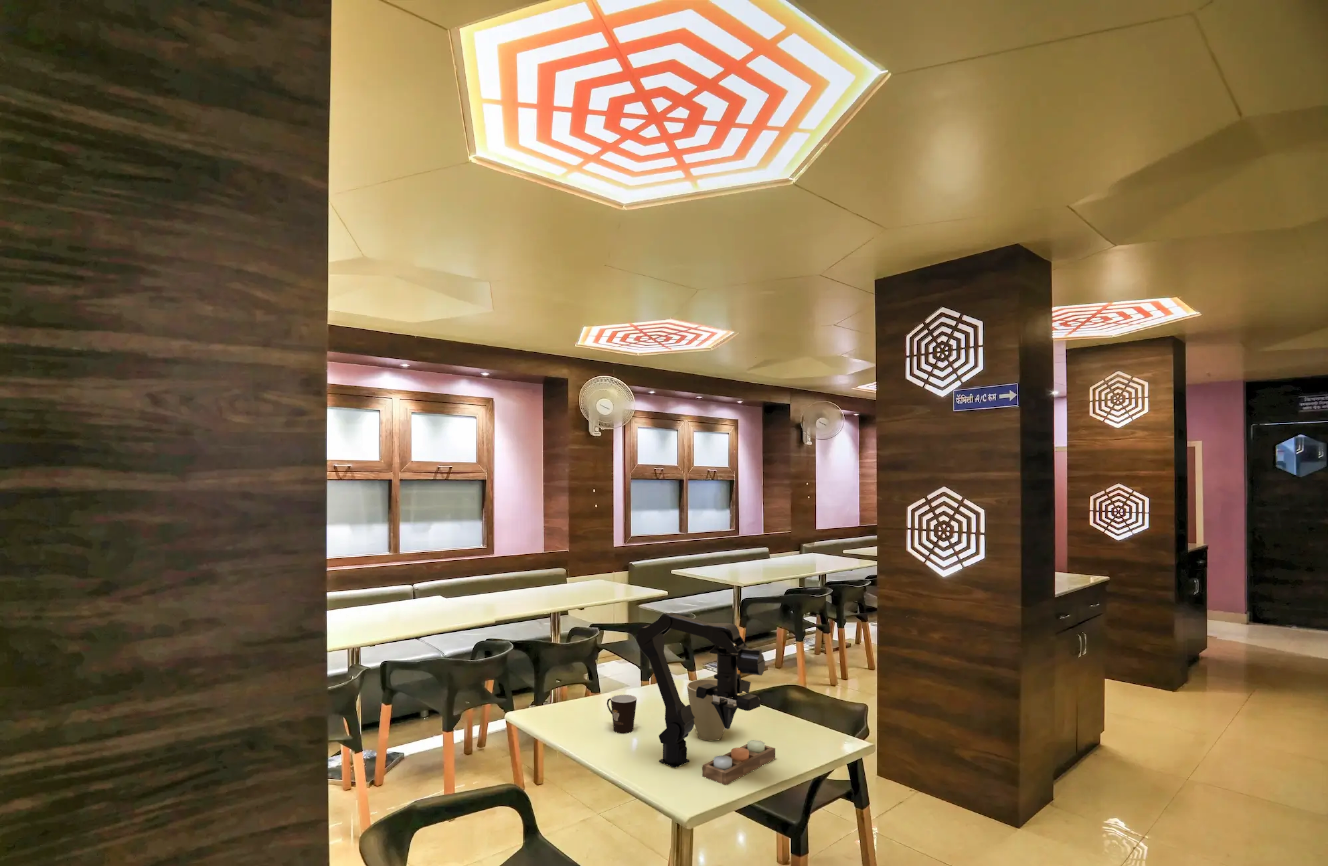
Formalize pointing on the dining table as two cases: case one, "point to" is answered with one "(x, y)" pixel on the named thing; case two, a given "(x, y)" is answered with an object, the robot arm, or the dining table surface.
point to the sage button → (756, 746)
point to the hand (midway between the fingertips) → (727, 728)
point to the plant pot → (705, 712)
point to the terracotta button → (740, 754)
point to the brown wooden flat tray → (738, 766)
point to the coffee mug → (623, 712)
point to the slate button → (723, 762)
